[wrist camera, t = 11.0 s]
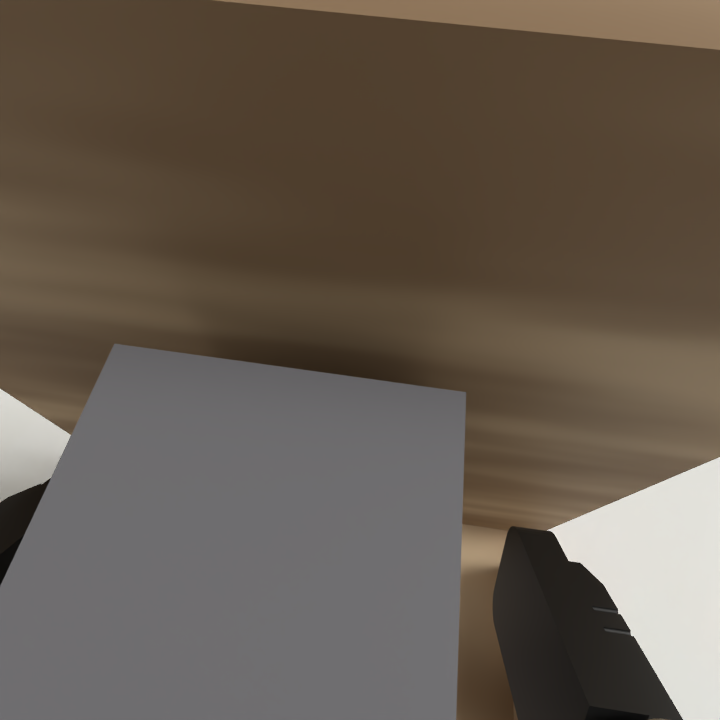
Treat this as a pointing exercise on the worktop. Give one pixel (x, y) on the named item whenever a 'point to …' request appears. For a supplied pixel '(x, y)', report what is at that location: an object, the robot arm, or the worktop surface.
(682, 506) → the worktop surface
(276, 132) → the wooden angled stand
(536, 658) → the robot arm
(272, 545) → the power strip
